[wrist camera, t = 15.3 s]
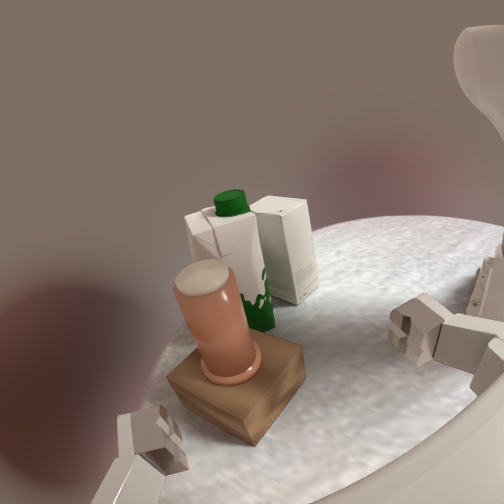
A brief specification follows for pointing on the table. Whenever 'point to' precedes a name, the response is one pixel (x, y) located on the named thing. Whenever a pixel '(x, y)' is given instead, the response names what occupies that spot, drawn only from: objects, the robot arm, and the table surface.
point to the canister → (218, 322)
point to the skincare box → (287, 247)
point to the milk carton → (234, 251)
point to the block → (243, 389)
